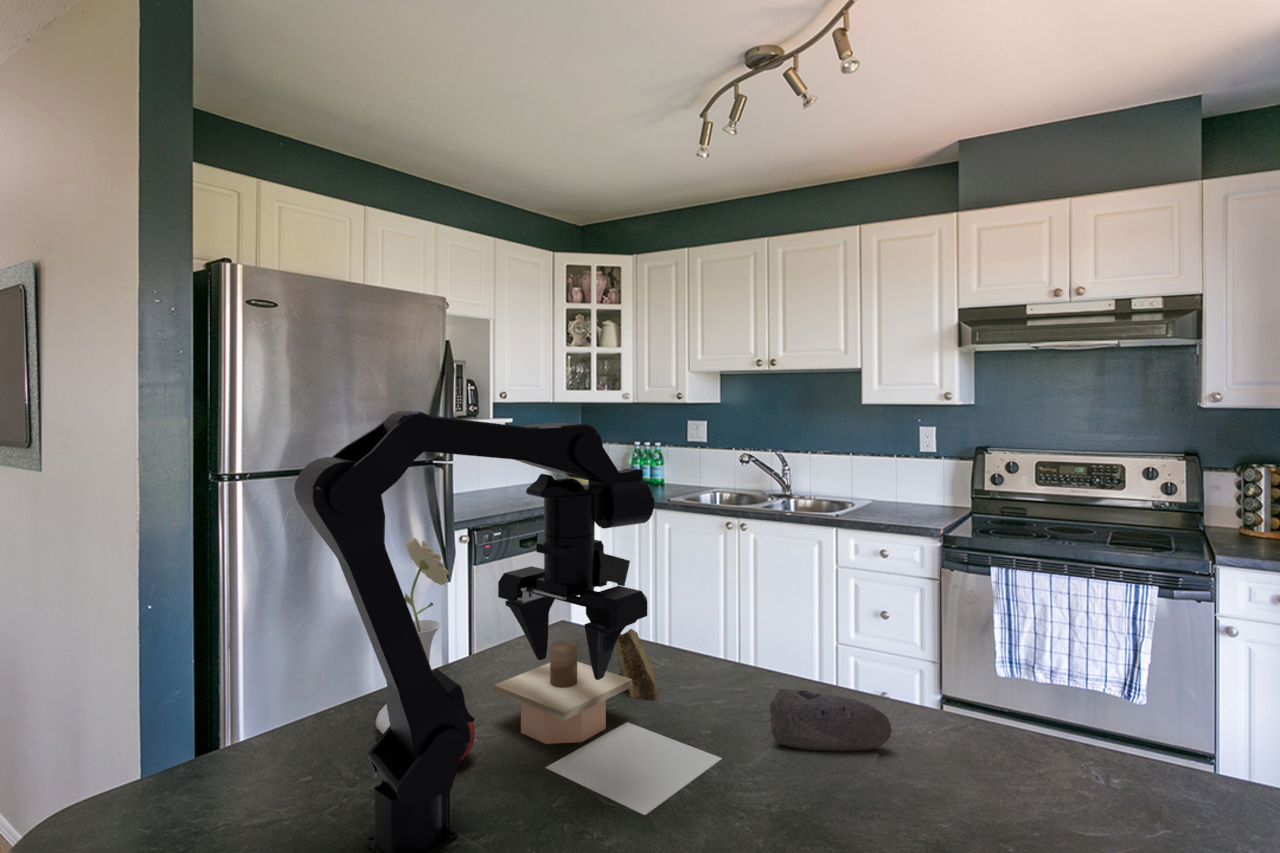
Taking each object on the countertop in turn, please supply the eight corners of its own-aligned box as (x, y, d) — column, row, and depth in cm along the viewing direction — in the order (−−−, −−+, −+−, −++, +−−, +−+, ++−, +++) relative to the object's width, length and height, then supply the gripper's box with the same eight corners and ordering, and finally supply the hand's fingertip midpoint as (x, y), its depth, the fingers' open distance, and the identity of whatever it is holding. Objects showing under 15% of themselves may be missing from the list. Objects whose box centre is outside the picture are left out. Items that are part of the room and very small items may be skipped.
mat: (644, 819, 74) (644, 814, 74) (545, 771, 83) (545, 767, 83) (722, 762, 85) (722, 758, 85) (627, 725, 95) (627, 722, 95)
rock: (605, 657, 113) (587, 672, 104) (638, 616, 113) (623, 627, 103) (657, 705, 111) (643, 724, 101) (690, 663, 110) (680, 679, 101)
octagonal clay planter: (563, 755, 87) (563, 715, 86) (504, 729, 94) (504, 691, 93) (621, 723, 95) (621, 687, 95) (563, 701, 102) (563, 667, 102)
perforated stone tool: (887, 743, 90) (888, 690, 90) (895, 764, 85) (896, 707, 85) (768, 734, 93) (768, 682, 92) (769, 754, 87) (769, 698, 87)
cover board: (563, 720, 85) (563, 671, 85) (493, 692, 93) (493, 647, 93) (632, 686, 95) (632, 642, 95) (563, 663, 103) (563, 623, 103)
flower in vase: (473, 738, 91) (472, 546, 90) (380, 757, 86) (377, 554, 85) (454, 699, 103) (453, 529, 102) (371, 714, 98) (368, 535, 97)
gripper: (677, 533, 80) (677, 667, 81) (562, 515, 92) (562, 633, 93) (613, 549, 72) (613, 699, 72) (494, 527, 84) (495, 657, 84)
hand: (569, 668), depth 81 cm, fingers open, 9 cm apart
